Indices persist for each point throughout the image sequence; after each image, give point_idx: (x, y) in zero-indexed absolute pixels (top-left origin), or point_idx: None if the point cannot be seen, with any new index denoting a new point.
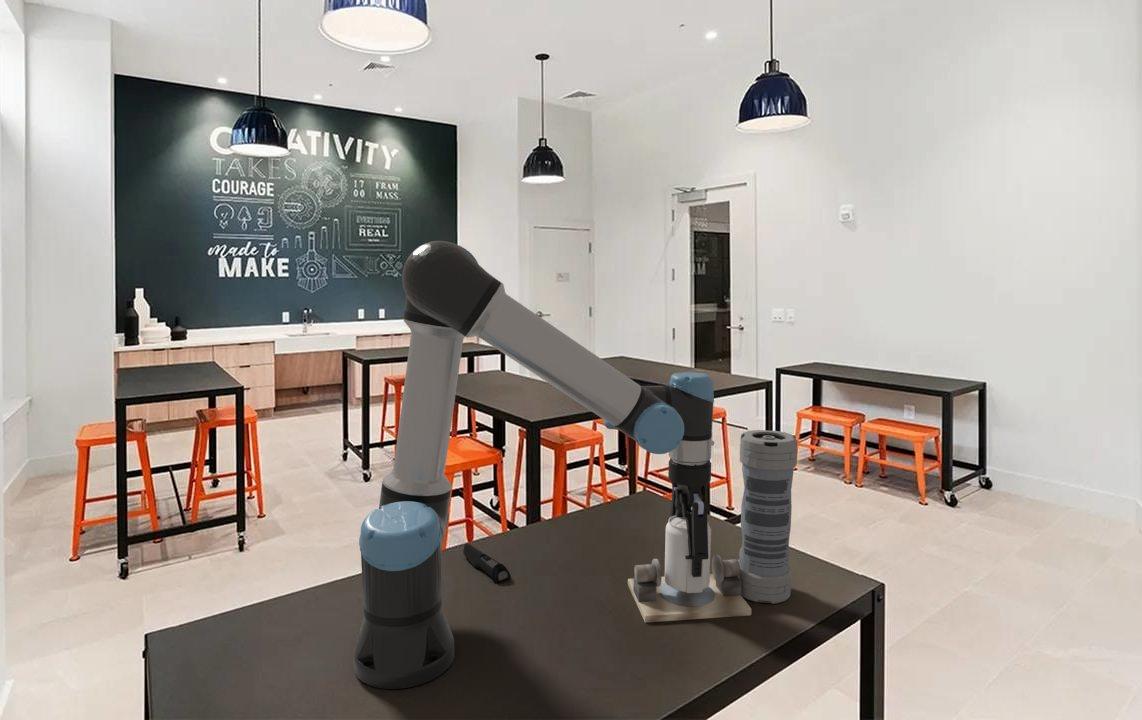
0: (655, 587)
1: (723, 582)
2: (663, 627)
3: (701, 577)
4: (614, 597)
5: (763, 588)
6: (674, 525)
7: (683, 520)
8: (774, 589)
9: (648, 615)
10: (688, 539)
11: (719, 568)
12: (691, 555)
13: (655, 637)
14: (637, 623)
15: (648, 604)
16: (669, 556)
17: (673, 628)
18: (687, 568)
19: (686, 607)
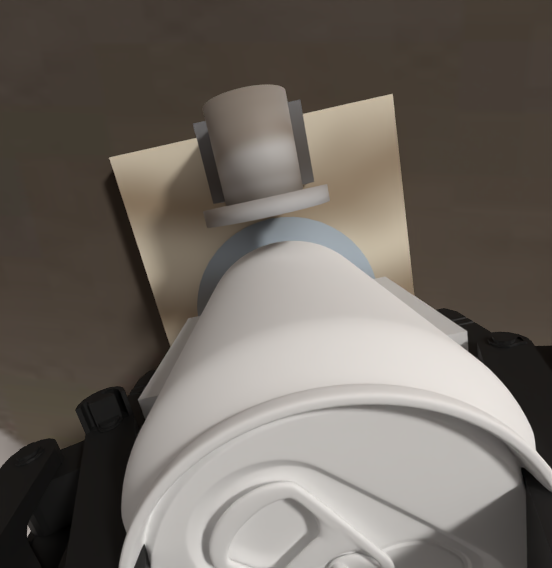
0: (212, 199)
1: None
2: (103, 219)
3: None
4: (283, 44)
5: None
6: (192, 457)
7: (431, 529)
8: None
9: (114, 169)
10: (118, 492)
11: None
12: (86, 435)
13: (37, 191)
14: (110, 133)
15: (194, 172)
16: (234, 286)
17: (104, 250)
18: (169, 362)
19: (190, 300)
